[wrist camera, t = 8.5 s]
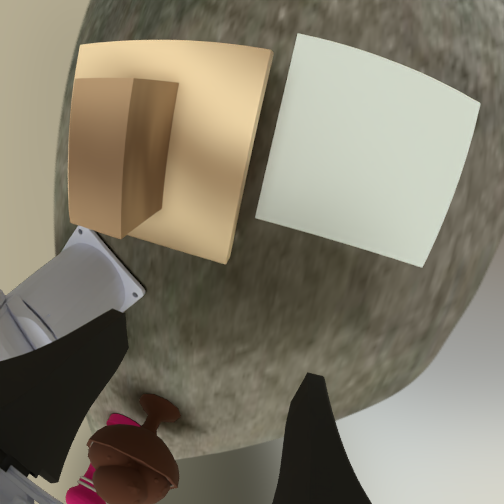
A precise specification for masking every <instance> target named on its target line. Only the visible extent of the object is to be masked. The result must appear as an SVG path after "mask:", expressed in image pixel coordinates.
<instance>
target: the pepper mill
mask: <svg viewBox="0 0 504 504" xmlns="http://www.w3.org/2000/svg"><path fill="white" fill-rule="evenodd" d="M115 424H128V425H134V426H139V427H140V425H139V424H137V423H136V422H134V421H133V420H131V419H130V418H128V417H125V416H123V415H120V414H112V415H111V416H110V417H109V419H108V421H107V426H108V425H115ZM95 470H96V469H95V468H94V467H93V466H92V464H91V463H90V466H89V468H88V470H87V472H86V473H85V475H84V476H80V481H79V480H78V481H77V482H78V484H79V485H78V486H75V487H72V488H70V489H69V490H68V491H67V494H66V503H67V504H106V502H105V501H104V500H103V499H102V498H101V497H100V496H99V495H98V494H97V493H96V490H95V488H94V485H93V480H92V478H93V473H94V472H95Z"/></svg>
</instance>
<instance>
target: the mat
mask: <svg viewBox="0 0 504 504" xmlns="http://www.w3.org/2000/svg"><path fill="white" fill-rule="evenodd" d="M479 107H480V103H479V102H477V101H475V100H474V99H472V98H470V97H468V96H467V95H465V94H463V93H461V92H459V91H457V90H456V89H454V88H452V87H450V86H448V85H446V84H444V83H442V82H440V81H438V80H436V79H434V78H431V77H429V76H427V75H425V74H423V73H420V72H418V71H416V70H414V69H411V68H409V67H406V66H404V65H401V64H399V63H396V62H394V61H391V60H389V59H386V58H383V57H380V56H377V55H375V54H372V53H369V52H366V51H363V50H360V49H356V48H353V47H350V46H346V45H343V44H339V43H336V42H332V41H328V40H324V39H320V38H316V37H312V36H307V35H303V34H297V38H296V43H295V47H294V51H293V55H292V60H291V64H290V68H289V73H288V77H287V81H286V85H285V90H284V94H283V98H282V103H281V107H280V111H279V116H278V120H277V124H276V128H275V133H274V137H273V141H272V146H271V150H270V154H269V159H268V163H267V168H266V172H265V176H264V181H263V185H262V189H261V194H260V198H259V203H258V207H257V211H256V216H255V218H257V219H261V220H264V221H268V222H272V223H275V224H279V225H282V226H286V227H290V228H293V229H297V230H300V231H304V232H307V233H311V234H314V235H318V236H321V237H324V238H328V239H331V240H335V241H338V242H341V243H345V244H348V245H351V246H355V247H358V248H361V249H365V250H368V251H371V252H374V253H378V254H381V255H384V256H387V257H390V258H394V259H397V260H400V261H403V262H406V263H409V264H412V265H416V266H419V267H423V265H424V263H425V261H426V259H427V257H428V255H429V252H430V250H431V248H432V246H433V244H434V241H435V239H436V237H437V235H438V232H439V230H440V228H441V225H442V223H443V220H444V218H445V216H446V213H447V211H448V208H449V205H450V203H451V200H452V198H453V195H454V192H455V189H456V187H457V184H458V181H459V178H460V175H461V172H462V169H463V166H464V163H465V160H466V156H467V153H468V150H469V146H470V143H471V139H472V136H473V132H474V128H475V124H476V120H477V116H478V112H479Z"/></svg>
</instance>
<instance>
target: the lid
mask: <svg viewBox="0 0 504 504" xmlns="http://www.w3.org/2000/svg"><path fill="white" fill-rule="evenodd" d="M273 55H274V53H273V52H272V50H268V49H263V48H256V47H250V46H242V45H234V44H225V43H215V42H203V41H185V40H131V41H114V42H102V43H92V44H84V45H80V49H79V54H78V60H77V66H76V72H75V79H74V86H73V94H72V103H71V114H70V127H69V146H68V201H69V216H70V223H73V224H76V225H79V226H82V227H85V228H88V229H91V230H94V231H97V232H100V233H103V234H106V235H109V236H112V237H115V238H118V239H122V238H123V237H125V236H126V235H130V236H133V237H136V238H139V239H142V240H146V241H149V242H152V243H156V244H159V245H162V246H165V247H169V248H172V249H175V250H179V251H182V252H185V253H189V254H192V255H195V256H199V257H202V258H205V259H209V260H212V261H216V262H219V263H222V264H226V263H227V262H228V260H229V258H230V255H231V250H232V245H233V240H234V235H235V230H236V225H237V220H238V215H239V210H240V205H241V200H242V195H243V191H244V186H245V181H246V176H247V172H248V167H249V162H250V157H251V153H252V148H253V143H254V139H255V134H256V130H257V125H258V121H259V116H260V112H261V107H262V103H263V98H264V94H265V89H266V85H267V81H268V76H269V72H270V68H271V63H272V59H273Z"/></svg>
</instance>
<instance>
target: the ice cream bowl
mask: <svg viewBox="0 0 504 504" xmlns="http://www.w3.org/2000/svg"><path fill="white" fill-rule="evenodd" d="M139 402H140V404H141V406H142V408H143V410H144V411H145V412H146V413H147V415H148V416H147V418H146V420H145V422H144V424H143V425H142V426H140V427H139V426H134V425H128V424H115V425H108V426H105V427H103V428H101V429H99V430H98V431H96V433H95V434H94V435H93V436H92V437H91V438H90V439H89V441H88V443H87V446H88V447H89V453H88V457H89V459H90V462H91V464H92V466H93V467H94V468H95V469H96V470H95V472H94V473H93V478H92V480H93V485H94V488H95V490H96V493H97V494H98V495H99V496H100V497H101V498H102V499H103V500H104V501H105V502H107V503H109V504H154V503H156V502H158V501H159V500H161V499H163V498H164V497H165V496H166V494H167V493H168V491H169V490H170V489H174V488H178V482H179V470H178V465H177V463H176V461H175V459H174V457H173V455H172V454H171V452H170V450H169V449H168V447H167V446H166V444H165V443H164V442H163V440H162V439H160V438H159V437H158V436H157V428H158V426H159V425H160V423H161V422H175V421H176V420H177V419H178V418H179V417H180V416H181V415H180V412H179V410H178V408H177V407H175V406H174V405H173V404H172V403H170V402H169V401H168V400H166V399H164V398H161V397H159V396H157V395H154V394H143V395H142V396H141V398H140V401H139Z"/></svg>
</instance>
